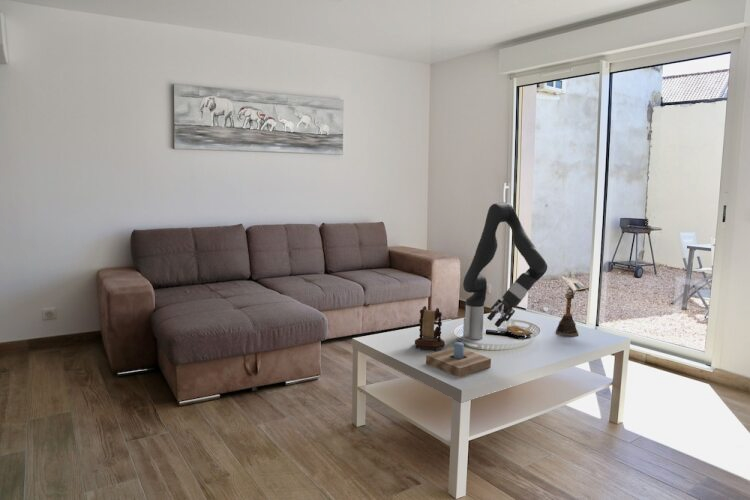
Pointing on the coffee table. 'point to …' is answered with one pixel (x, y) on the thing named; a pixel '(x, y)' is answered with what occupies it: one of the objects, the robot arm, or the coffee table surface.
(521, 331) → the decorative rock
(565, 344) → the coffee table surface
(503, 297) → the robot arm
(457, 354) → the peg
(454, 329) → the coffee table surface
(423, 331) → the scroll
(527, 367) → the coffee table surface
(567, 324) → the bird statue
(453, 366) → the socket block
